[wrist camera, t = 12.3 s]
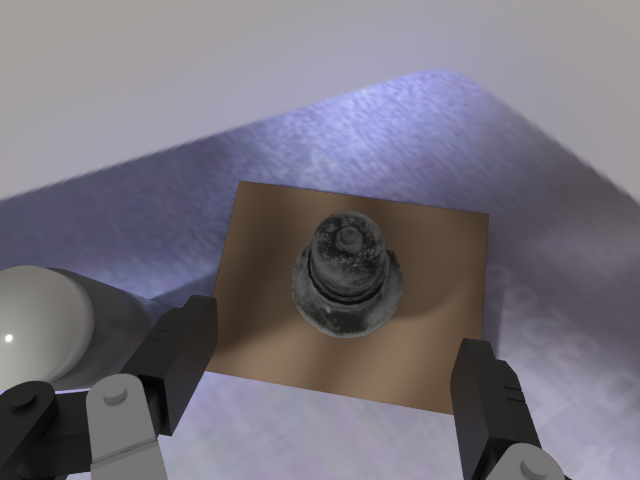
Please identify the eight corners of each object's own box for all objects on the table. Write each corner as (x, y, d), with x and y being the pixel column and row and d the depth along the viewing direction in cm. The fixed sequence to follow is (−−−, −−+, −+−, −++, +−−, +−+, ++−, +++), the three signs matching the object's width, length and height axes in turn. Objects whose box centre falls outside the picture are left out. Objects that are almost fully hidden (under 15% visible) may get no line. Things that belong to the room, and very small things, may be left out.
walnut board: (203, 369, 26) (195, 369, 25) (244, 189, 30) (239, 180, 28) (468, 416, 25) (476, 419, 24) (481, 221, 28) (488, 214, 27)
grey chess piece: (360, 227, 27) (374, 124, 16) (415, 308, 25) (475, 260, 14) (279, 276, 26) (231, 206, 15) (329, 362, 25) (319, 357, 13)
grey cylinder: (96, 376, 27) (-73, 382, 16) (119, 296, 28) (-22, 251, 17) (173, 390, 26) (54, 406, 15) (193, 308, 28) (97, 270, 17)
